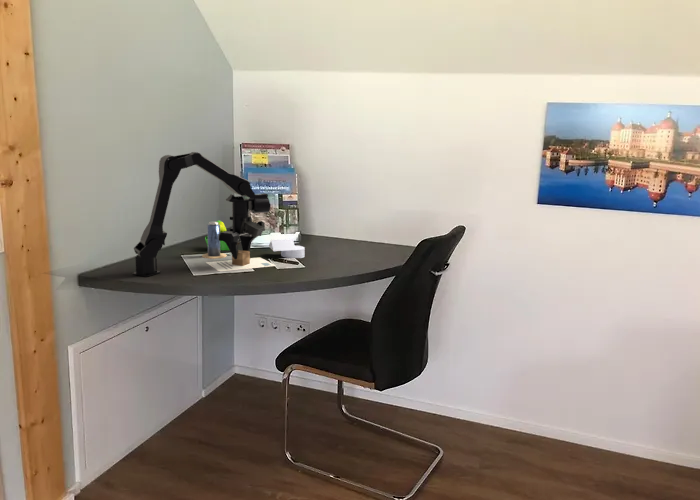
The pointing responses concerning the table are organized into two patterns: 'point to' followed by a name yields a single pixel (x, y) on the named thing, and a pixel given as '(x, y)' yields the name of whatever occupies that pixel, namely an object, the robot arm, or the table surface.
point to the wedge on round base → (287, 248)
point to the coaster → (215, 256)
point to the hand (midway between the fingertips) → (240, 257)
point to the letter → (228, 265)
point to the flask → (213, 239)
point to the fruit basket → (222, 244)
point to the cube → (242, 258)
